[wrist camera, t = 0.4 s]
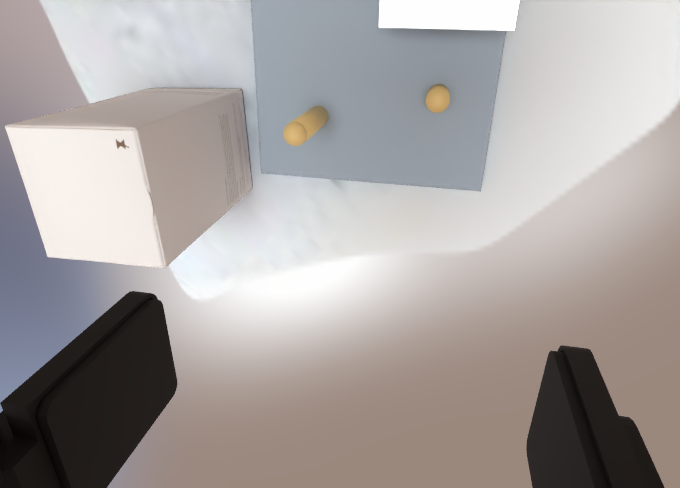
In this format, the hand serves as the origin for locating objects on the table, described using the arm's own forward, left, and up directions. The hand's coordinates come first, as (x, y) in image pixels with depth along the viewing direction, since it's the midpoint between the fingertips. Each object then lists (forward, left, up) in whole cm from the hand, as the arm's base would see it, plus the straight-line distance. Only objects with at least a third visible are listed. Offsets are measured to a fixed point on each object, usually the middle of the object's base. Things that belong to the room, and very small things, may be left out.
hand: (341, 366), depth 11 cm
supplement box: (+3, -18, -29) cm, 35 cm away
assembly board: (-5, -3, -29) cm, 30 cm away
